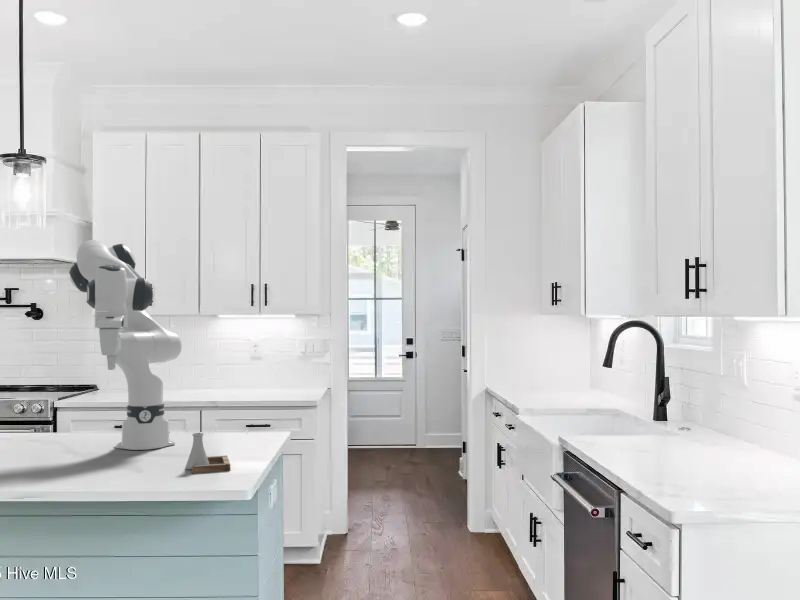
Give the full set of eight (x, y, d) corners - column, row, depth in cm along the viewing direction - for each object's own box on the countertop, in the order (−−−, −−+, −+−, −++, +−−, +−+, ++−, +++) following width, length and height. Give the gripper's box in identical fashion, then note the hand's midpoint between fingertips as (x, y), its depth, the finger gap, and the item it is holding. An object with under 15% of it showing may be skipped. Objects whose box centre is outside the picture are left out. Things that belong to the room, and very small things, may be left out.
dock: (191, 463, 211) (191, 457, 211) (227, 461, 215) (227, 455, 215) (192, 473, 199) (192, 466, 199) (230, 470, 202) (230, 464, 202)
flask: (206, 470, 203) (206, 435, 203) (181, 470, 203) (181, 435, 203) (213, 465, 210) (213, 431, 210) (189, 465, 210) (189, 431, 210)
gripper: (103, 320, 212) (103, 367, 212) (96, 321, 193) (96, 372, 192) (125, 320, 214) (125, 366, 214) (120, 321, 194) (120, 371, 194)
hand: (111, 369), depth 203 cm, fingers closed
